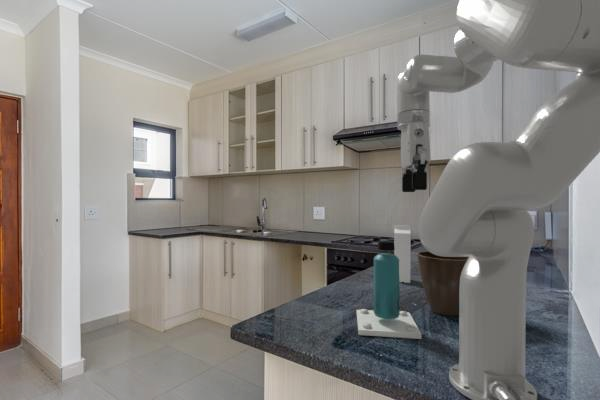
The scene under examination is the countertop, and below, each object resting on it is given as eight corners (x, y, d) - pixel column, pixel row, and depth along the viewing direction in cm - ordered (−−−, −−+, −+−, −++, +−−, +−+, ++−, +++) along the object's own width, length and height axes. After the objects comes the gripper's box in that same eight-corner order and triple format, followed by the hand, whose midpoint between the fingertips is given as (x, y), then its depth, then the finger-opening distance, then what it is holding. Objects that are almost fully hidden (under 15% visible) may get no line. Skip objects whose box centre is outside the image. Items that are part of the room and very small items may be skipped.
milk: (394, 278, 129) (394, 223, 129) (409, 279, 127) (410, 224, 127) (394, 282, 123) (394, 224, 123) (410, 283, 121) (410, 225, 122)
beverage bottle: (401, 326, 76) (401, 242, 76) (372, 324, 78) (373, 241, 78) (398, 317, 83) (399, 239, 83) (372, 315, 84) (372, 238, 84)
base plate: (421, 338, 72) (421, 331, 72) (358, 335, 74) (358, 327, 74) (409, 316, 86) (409, 310, 86) (356, 313, 88) (356, 307, 88)
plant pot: (424, 299, 101) (424, 249, 101) (478, 309, 93) (478, 254, 93) (410, 313, 89) (411, 255, 89) (471, 325, 80) (471, 262, 80)
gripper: (441, 110, 70) (442, 188, 70) (418, 129, 87) (419, 192, 87) (406, 111, 71) (406, 188, 70) (390, 130, 88) (391, 192, 88)
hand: (413, 190), depth 79 cm, fingers open, 9 cm apart
